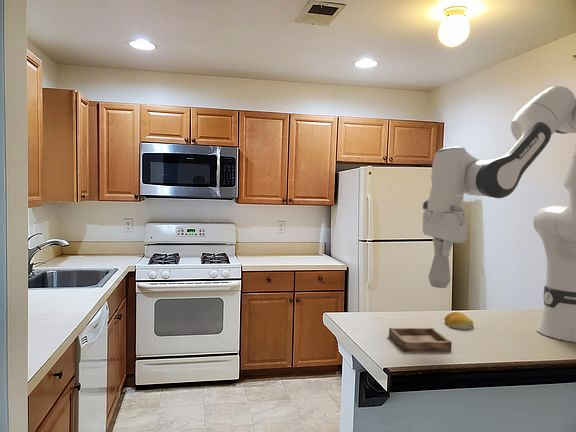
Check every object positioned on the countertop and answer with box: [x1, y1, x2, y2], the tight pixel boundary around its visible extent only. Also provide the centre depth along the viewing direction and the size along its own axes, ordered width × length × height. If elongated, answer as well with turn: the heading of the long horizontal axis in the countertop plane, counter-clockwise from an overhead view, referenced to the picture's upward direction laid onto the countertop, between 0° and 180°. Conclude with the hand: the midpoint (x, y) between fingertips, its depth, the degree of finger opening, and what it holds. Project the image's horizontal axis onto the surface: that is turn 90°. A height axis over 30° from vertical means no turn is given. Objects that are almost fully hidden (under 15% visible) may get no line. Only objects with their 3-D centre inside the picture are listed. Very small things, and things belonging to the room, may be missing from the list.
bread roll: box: [443, 311, 474, 331], centre depth 144 cm, size 8×9×4 cm
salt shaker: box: [428, 239, 451, 289], centre depth 127 cm, size 6×6×13 cm
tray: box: [388, 327, 453, 352], centre depth 126 cm, size 13×12×2 cm
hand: (441, 255), depth 126 cm, fingers closed on salt shaker, 3 cm apart
